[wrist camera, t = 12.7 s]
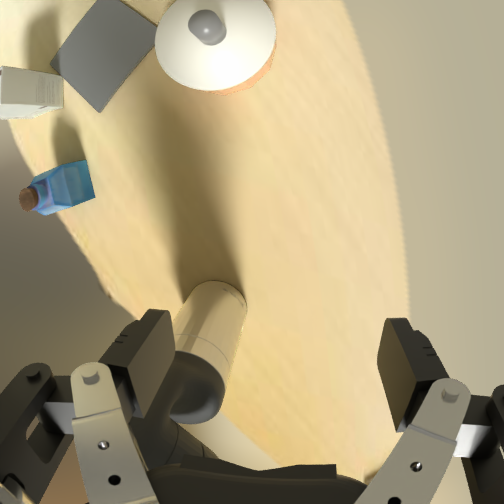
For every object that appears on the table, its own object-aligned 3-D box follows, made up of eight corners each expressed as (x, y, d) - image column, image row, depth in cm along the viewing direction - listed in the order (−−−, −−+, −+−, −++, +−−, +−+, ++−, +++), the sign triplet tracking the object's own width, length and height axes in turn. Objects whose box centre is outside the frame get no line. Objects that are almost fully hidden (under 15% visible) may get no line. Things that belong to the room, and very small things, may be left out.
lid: (216, 115, 35) (202, 112, 29) (139, 48, 33) (117, 38, 27) (302, 34, 30) (303, 17, 25) (217, -28, 28) (205, -49, 23)
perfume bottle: (86, 159, 44) (35, 170, 33) (95, 197, 46) (46, 217, 35) (59, 170, 45) (8, 184, 34) (68, 206, 47) (19, 226, 36)
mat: (100, 112, 41) (98, 112, 40) (51, 64, 39) (49, 64, 38) (165, 33, 36) (163, 32, 35) (107, -8, 34) (105, -9, 33)
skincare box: (32, 119, 42) (-32, 125, 28) (31, 87, 40) (-32, 86, 26) (66, 106, 41) (-1, 107, 27) (65, 72, 39) (0, 64, 25)
